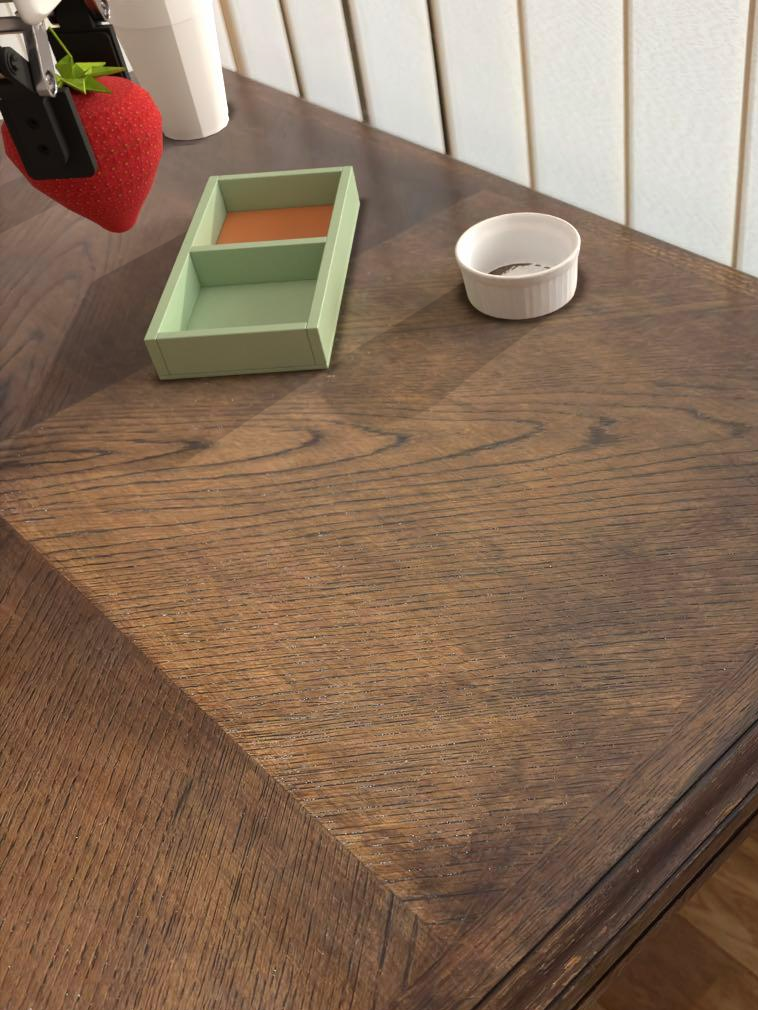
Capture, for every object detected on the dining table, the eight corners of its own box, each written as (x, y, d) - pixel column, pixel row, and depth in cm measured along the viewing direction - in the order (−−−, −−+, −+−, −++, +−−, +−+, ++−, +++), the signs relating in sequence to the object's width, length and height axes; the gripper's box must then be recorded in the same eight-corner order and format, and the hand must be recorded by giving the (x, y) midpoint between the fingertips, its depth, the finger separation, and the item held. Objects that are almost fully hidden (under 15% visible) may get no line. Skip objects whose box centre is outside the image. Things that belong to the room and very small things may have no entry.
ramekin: (444, 323, 76) (436, 270, 73) (485, 257, 82) (479, 205, 79) (563, 338, 74) (560, 284, 71) (596, 269, 80) (594, 216, 77)
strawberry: (38, 226, 57) (-48, 32, 49) (177, 186, 59) (114, -5, 52) (60, 278, 53) (-30, 77, 46) (206, 233, 55) (144, 34, 48)
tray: (162, 388, 73) (143, 339, 70) (223, 221, 89) (209, 176, 86) (330, 376, 73) (317, 327, 70) (361, 210, 88) (352, 165, 85)
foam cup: (217, 94, 106) (176, -47, 97) (262, 123, 101) (224, -24, 92) (129, 127, 103) (78, -17, 93) (172, 158, 97) (122, 8, 88)
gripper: (-93, -351, 46) (65, 71, 59) (-316, -271, 34) (-55, 237, 47) (79, -365, 45) (200, 63, 58) (-84, -288, 33) (114, 228, 46)
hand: (86, 137), depth 52 cm, fingers closed on strawberry, 6 cm apart
